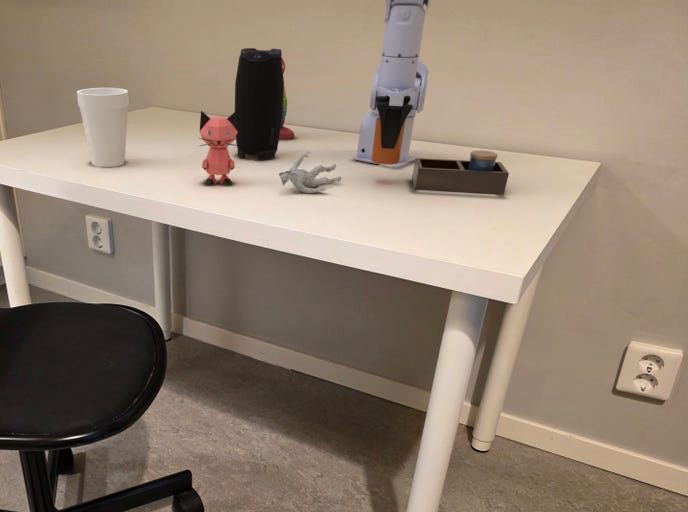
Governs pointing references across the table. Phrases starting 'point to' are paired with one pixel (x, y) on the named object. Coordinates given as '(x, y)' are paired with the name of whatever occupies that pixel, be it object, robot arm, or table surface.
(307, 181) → the soldier figure
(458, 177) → the divided storage box
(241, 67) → the portable speaker
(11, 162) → the table surface
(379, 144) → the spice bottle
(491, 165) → the blue jar
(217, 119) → the cat figurine
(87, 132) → the foam cup
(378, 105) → the robot arm
